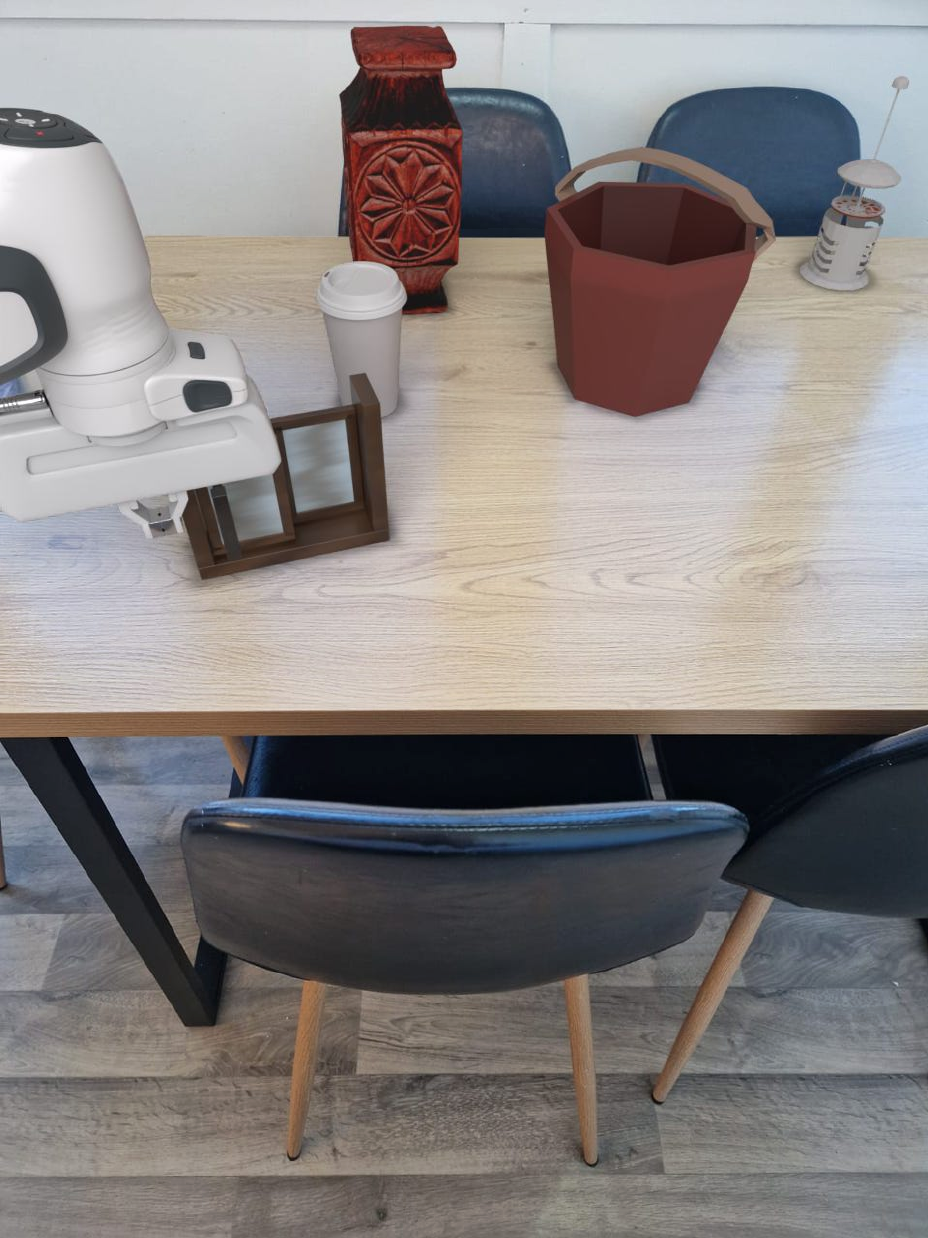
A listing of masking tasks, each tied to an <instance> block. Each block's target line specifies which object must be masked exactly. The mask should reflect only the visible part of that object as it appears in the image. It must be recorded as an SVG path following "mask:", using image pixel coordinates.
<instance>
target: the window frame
mask: <svg viewBox="0 0 928 1238" xmlns="http://www.w3.org/2000/svg"><path fill="white" fill-rule="evenodd" d="M349 380H350V390H351V400H352V404H351V405H346V406H342V405H340V406H335V407H328V408H323V409H317V410H312V411H305V412H300V413H295V414H289V415H283V416H277V417H271V418H270V417H269V418H270V421H271V424H272V427H273V430H274V434H276V435H277V438H278V443H279V449H280V454H281V460H282V465H283V471H284V476H285V482H286V487H287V493H288V499H289V504H290V510H291V515H292V521H293V526H294V532H295V537H296V539H292V540H288V541H283V542H278V543H273V544H268V545H263V546H259V547H254V548H249V549H244V550H241V553H242V558H239V559H234V560H228V556H227V553H225V554H220V555H215V556H214V554H213V550H212V547H211V543H210V539H209V536H208V532H207V529H206V525H205V522H204V518H203V515H202V511H201V508H200V504H199V501H198V497H197V494H196V490H195V489H192V490H187V494H188V502H187V504H186V506H185V509H184V511H183V513H182V516H181V518H182V521H183V525H184V527H185V530H186V533H187V536H188V539H189V542H190V546H191V549H192V552H193V556H194V559H195V563H196V566H197V569H198V572H199V576H200V579H201V580H202V581H204V580H208V579H209V580H210V579H214V578H218V577H223V576H229V575H233V574H237V573H242V572H246V571H247V572H248V571H251V570H257V569H261V568H266V567H271V566H275V565H280V564H285V563H289V562H294V561H298V560H303V559H308V558H312V557H317V556H322V555H327V554H331V553H336V552H341V551H345V550H350V549H351V550H352V549H355V548H360V547H364V546H370V545H374V544H378V543H383V542H388V541H390V526H389V525H390V523H389V511H388V496H387V481H386V469H385V468H386V467H385V455H384V454H385V453H384V452H385V451H384V441H383V440H384V439H383V425H382V423H383V422H382V418H381V408H380V402H379V400H378V398H377V396H376V393H375V391H374V389H373V387H372V385H371V383H370V381H369V379H368V377H367V375H366V373H361V374H354V375H349Z"/></svg>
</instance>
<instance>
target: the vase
mask: <svg viewBox="0 0 928 1238" xmlns="http://www.w3.org/2000/svg"><path fill="white" fill-rule="evenodd" d="M350 42H351V49H352V52H353V55H354V58H355V63H356V64H357V66H358V67H359V68H358V71H357V73H356V75H355V76H354V78H353V79H352V81H350V83H349V85H347V86H346V87H345V89H343V90H342V91H341V92H340V93H339V94H338V97H339V101H340V111H341V112H340V113H341V118H340V120H341V121H340V124H341V125H340V126H341V141H342V142H341V143H342V155H343V167H344V170H343V172H344V173H343V174H344V191H345V202H346V203H345V204H346V214H347V221H346V222H347V223H346V224H347V230H348V239H349V241H348V242H349V247H350V253H351V257H352V259H351V260H352V262H357V261H367V262H375V263H380V264H383V265H386V266H388V267H390V268H392V269H393V270H394V271H395V272H396V273H397V275H398V278H399V280H400V281H401V282H402V284H403V286H404V288H405V291H406V294H407V300H406V303H405V304H404V305H403V307H402V316H403V315H404V316H406V315H423V314H430V313H431V314H433V313H434V314H435V313H437V314H438V313H443V312H445V311H447V310H448V306H449V305H448V298H447V295H446V293H445V288H444V286H443V282H442V281H443V279H444V277H445V276H446V274H447V273H448V271H449V270H450V269H452V268H454V267H456V266H458V264H459V261H460V260H459V259H460V256H459V254H460V253H459V252H460V227H461V220H462V219H461V217H462V216H461V215H462V191H463V157H462V151H463V149H462V148H463V135H464V133H463V128H462V126H461V123H460V121H459V118H458V116H457V114H456V112H455V108H454V106H453V105H452V103H451V100H450V98H449V96H448V95H447V91H446V87H445V82H444V76H443V70H450V69H454V68H455V66H456V65H457V60H458V59H457V54H456V50H455V49H454V47H453V45H452V44H451V42H450V40H449V38H448V36H447V35H446V32H445V30H444V29H443V27H442V26H441V25H436V26H431V25H429V26H428V25H391V26H390V25H389V26H387V25H386V26H354V27H353V28H352V29H350Z"/></svg>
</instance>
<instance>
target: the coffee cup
mask: <svg viewBox="0 0 928 1238" xmlns="http://www.w3.org/2000/svg"><path fill="white" fill-rule="evenodd" d="M406 300H407V294H406V291H405V288H404V286H403V284H402V282H401V281H400V280H399V278H398V275H397V273H396V272H395V271H394V270H393V269H392V268H390V267H388V266H386V265H383V264H380V263H375V262H367V261H357V262H353V261H349V262H344V263H340V264H337V265H334V266H332V267H330V268H329V269H327V270H326V271H325V272H324V273H323V274H322V276H321V280H320V283H319V284H318V286H317V289H316V294H315V303H316V306H317V308H319V309H320V311H321V313H322V317H323V321H324V327H325V331H326V336H327V340H328V345H329V350H330V355H331V360H332V365H333V370H334V374H335V379H336V384H337V388H338V393H339V398H340V402H341V406H346V405H351V404H352V400H351V390H350V380H349V375H354V374H361V373H366V375H367V377H368V379H369V381H370V383H371V385H372V387H373V389H374V391H375V393H376V396H377V398H378V400H379V402H380V408H381V419H383V418H386V417H387V416H389V415H391V414H393V412H395V411H396V409H397V408H398V405H399V383H400V362H401V361H400V360H401V359H400V358H401V342H402V341H401V339H402V319H403V318H402V317H403V315H402V307H403V305H404V304H405V303H406Z"/></svg>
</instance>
